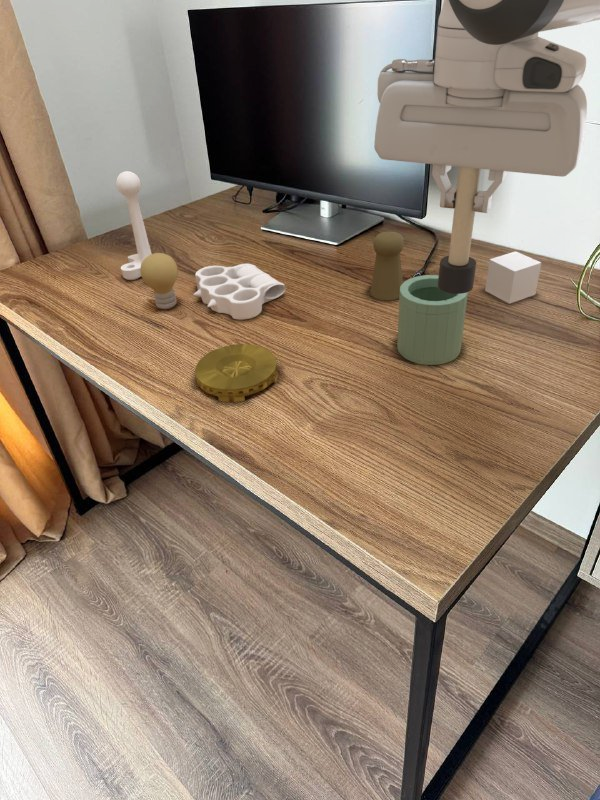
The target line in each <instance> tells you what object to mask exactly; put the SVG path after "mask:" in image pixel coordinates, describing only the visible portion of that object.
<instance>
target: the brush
mask: <svg viewBox="0 0 600 800" xmlns="http://www.w3.org/2000/svg"><path fill="white" fill-rule="evenodd" d="M481 171H482V169H477V168H467V167H458V171H457V181H456V188H457V189H456V198H455V207H454V209H453V217H452V225H451V226H452V227H451V234H450V244H449V253H448V255H446V256H444V257H442V258H441V259H440V261H439V270H438V275H439V278H438V287H439V289H441V290H442V291H444V292H447V293H452V294H462V293H467V292H468V293H469V292H471V291H472V290H473V288H474V282H475V276H476V269H477V260H476V259H475V258H473V257H471V256H470V253H471V245H472V237H473V230H474V222H475V216H476V212H474V211H473V206H474V205H475V203H474V198H475V195H476V194H478V191H479V185H480V179H481Z"/></svg>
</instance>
